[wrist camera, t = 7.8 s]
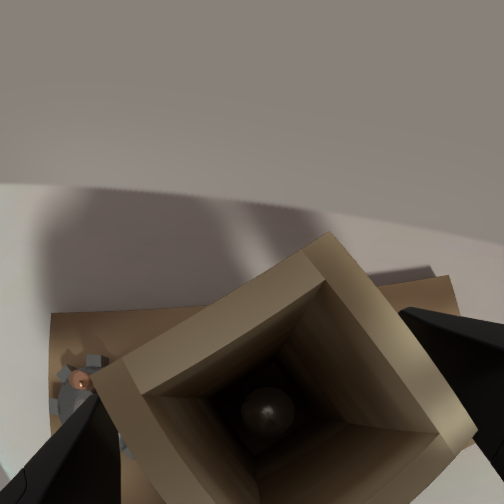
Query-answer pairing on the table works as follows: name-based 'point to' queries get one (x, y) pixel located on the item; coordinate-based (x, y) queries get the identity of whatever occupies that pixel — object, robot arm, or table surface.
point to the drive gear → (79, 391)
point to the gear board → (229, 402)
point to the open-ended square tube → (305, 385)
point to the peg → (268, 412)
